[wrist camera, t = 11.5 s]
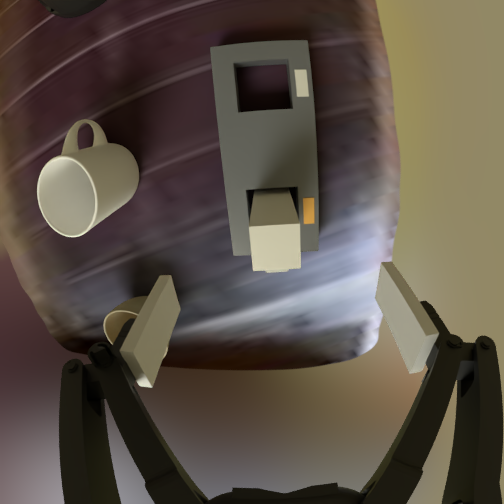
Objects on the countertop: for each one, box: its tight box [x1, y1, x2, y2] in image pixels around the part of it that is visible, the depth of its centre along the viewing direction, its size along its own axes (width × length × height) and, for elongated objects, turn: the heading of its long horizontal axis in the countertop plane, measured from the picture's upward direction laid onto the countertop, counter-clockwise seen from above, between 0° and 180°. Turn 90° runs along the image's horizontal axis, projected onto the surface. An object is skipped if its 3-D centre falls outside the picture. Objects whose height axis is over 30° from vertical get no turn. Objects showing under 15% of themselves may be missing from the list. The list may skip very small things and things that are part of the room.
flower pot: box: [104, 296, 169, 358], centre depth 39 cm, size 10×10×7 cm
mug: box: [37, 119, 139, 237], centre depth 27 cm, size 9×12×11 cm
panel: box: [210, 40, 319, 256], centre depth 29 cm, size 24×10×3 cm, turn 5°
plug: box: [249, 188, 301, 273], centre depth 28 cm, size 5×4×12 cm
